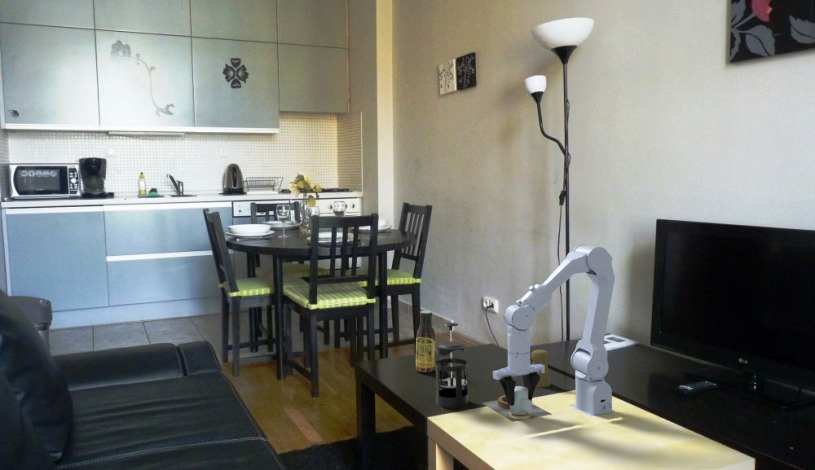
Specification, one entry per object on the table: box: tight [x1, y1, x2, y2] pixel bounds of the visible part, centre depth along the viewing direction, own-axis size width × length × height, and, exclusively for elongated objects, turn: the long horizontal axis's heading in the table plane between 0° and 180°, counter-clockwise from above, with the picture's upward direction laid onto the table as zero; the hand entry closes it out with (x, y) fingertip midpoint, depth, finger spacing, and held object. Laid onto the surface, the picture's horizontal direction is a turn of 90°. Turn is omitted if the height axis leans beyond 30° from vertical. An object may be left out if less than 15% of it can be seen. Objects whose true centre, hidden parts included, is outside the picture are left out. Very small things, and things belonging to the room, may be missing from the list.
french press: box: [434, 322, 469, 409], centre depth 178 cm, size 12×9×23 cm
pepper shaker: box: [530, 349, 551, 388], centre depth 193 cm, size 6×6×11 cm
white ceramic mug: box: [510, 385, 533, 415], centre depth 166 cm, size 8×5×6 cm, turn 21°
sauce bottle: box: [415, 310, 436, 374], centre depth 212 cm, size 6×6×20 cm
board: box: [482, 394, 552, 422], centre depth 172 cm, size 16×12×2 cm
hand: (519, 402), depth 167 cm, fingers closed on white ceramic mug, 5 cm apart
